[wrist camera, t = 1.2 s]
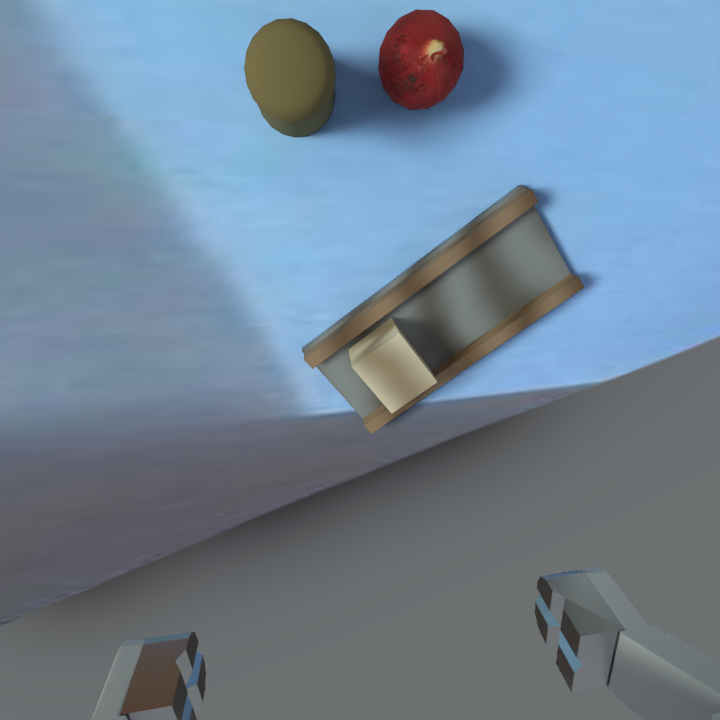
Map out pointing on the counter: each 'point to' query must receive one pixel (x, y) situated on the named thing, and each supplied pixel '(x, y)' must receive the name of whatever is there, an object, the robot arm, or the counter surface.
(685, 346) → the counter surface
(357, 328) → the chute
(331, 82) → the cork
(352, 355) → the birch block
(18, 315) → the counter surface
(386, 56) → the onion
